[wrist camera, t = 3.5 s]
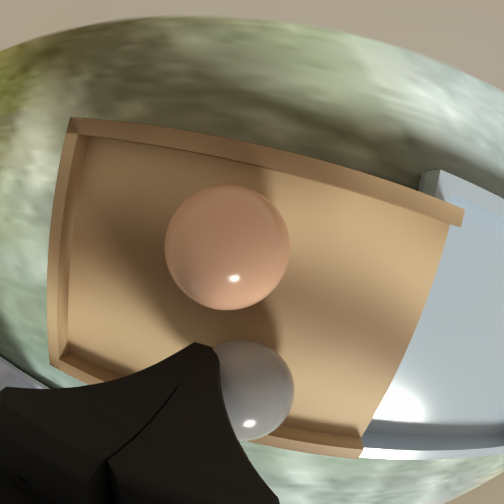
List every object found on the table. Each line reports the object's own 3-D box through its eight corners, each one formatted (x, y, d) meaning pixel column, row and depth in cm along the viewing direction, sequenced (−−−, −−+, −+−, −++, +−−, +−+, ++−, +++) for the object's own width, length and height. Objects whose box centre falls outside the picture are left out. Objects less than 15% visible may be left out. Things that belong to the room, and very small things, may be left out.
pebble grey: (236, 391, 12) (297, 438, 10) (164, 410, 10) (223, 476, 7) (255, 317, 12) (329, 360, 9) (175, 326, 9) (249, 390, 7)
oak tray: (348, 414, 14) (357, 458, 11) (85, 337, 15) (49, 364, 11) (427, 205, 12) (465, 209, 8) (112, 130, 13) (70, 117, 9)
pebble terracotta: (274, 300, 11) (268, 347, 7) (178, 274, 11) (134, 306, 7) (301, 200, 10) (308, 203, 7) (198, 175, 10) (158, 168, 7)
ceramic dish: (498, 437, 13) (508, 452, 11) (328, 430, 14) (331, 454, 12) (580, 252, 11) (599, 257, 9) (421, 172, 11) (440, 169, 10)
